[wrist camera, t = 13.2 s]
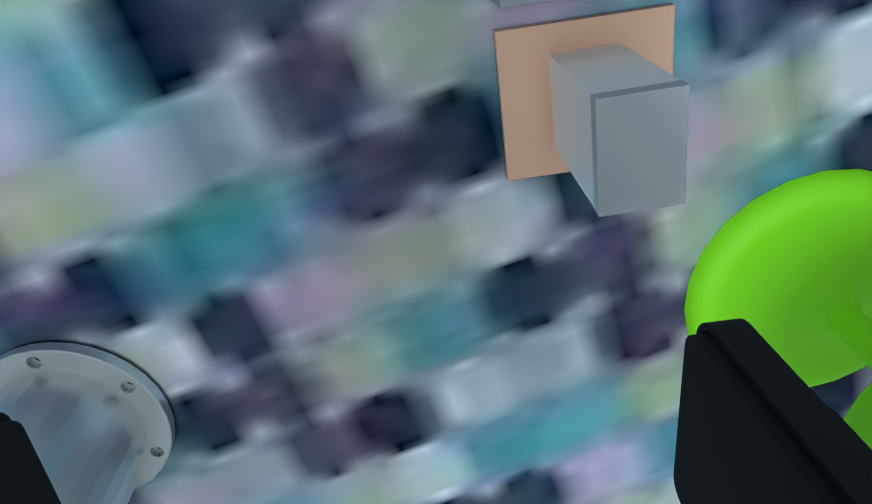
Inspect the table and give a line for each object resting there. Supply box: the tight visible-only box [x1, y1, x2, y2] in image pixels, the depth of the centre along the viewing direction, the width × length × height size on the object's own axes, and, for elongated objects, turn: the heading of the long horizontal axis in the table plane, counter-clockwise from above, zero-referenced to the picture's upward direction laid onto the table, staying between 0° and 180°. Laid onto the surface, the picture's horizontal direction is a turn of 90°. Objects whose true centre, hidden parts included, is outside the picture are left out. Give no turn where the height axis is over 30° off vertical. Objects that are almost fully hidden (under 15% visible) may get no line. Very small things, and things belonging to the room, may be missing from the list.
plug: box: [549, 43, 690, 217], centre depth 30 cm, size 5×4×9 cm
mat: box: [493, 3, 675, 181], centre depth 35 cm, size 8×9×1 cm
